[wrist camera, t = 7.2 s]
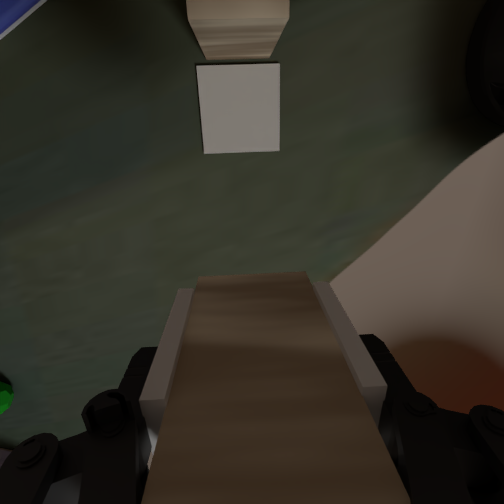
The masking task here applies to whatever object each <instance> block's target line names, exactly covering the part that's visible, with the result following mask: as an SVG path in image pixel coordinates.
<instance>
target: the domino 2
mask: <svg viewBox="0 0 504 504" xmlns="http://www.w3.org/2000/svg"><path fill="white" fill-rule="evenodd" d="M141 504H411V502H410V498H409V496H408V493H407V491H406V489H405V487H404V485H403V483H402V480H401V478H400V476H399V474H398V472H397V470H396V467H395V465H394V463H393V461H392V459H391V457H390V454H389V452H388V450H387V448H386V446H385V443H384V441H383V439H382V437H381V435H380V433H379V430H378V428H377V426H376V424H375V422H374V420H373V417H372V415H371V413H370V411H369V409H368V406H367V404H366V402H365V400H364V398H363V396H362V395H361V393H360V391H359V389H358V387H357V384H356V382H355V380H354V378H353V376H352V373H351V371H350V369H349V367H348V365H347V363H346V360H345V358H344V356H343V354H342V352H341V349H340V347H339V345H338V343H337V341H336V338H335V336H334V334H333V332H332V330H331V327H330V325H329V323H328V321H327V319H326V316H325V314H324V312H323V310H322V308H321V306H320V303H319V301H318V299H317V297H316V295H315V292H314V290H313V287H312V285H311V283H310V280H309V278H308V276H307V274H306V272H305V271H304V272H284V273H263V274H243V275H222V276H202V277H198V281H197V285H196V289H195V295H194V299H193V303H192V307H191V311H190V315H189V319H188V323H187V327H186V331H185V335H184V339H183V343H182V347H181V351H180V355H179V359H178V363H177V367H176V371H175V375H174V379H173V383H172V387H171V391H170V395H169V399H168V403H167V407H166V408H165V411H164V415H163V419H162V423H161V427H160V431H159V435H158V439H157V443H156V447H155V451H154V455H153V458H152V462H151V467H150V470H149V474H148V478H147V482H146V486H145V490H144V494H143V498H142V502H141Z"/></svg>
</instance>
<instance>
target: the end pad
mask: <svg viewBox="0 0 504 504" xmlns="http://www.w3.org/2000/svg"><path fill="white" fill-rule="evenodd" d="M196 67H197V78H198V90H199V101H200V112H201V123H202V134H203V145H204V154H208V153H235V152H262V151H279V127H280V63H278V64H242V65H207V66H196Z"/></svg>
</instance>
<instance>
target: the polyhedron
mask: <svg viewBox="0 0 504 504" xmlns="http://www.w3.org/2000/svg"><path fill="white" fill-rule="evenodd" d="M13 398H14V392H13V390H12V387H11V386H10V385H8V384H6V383H3V382H1V381H0V414H2V413H3V412H4V411H5V410H6V409H8V408H9V407H10V406H11V403H12V400H13Z"/></svg>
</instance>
